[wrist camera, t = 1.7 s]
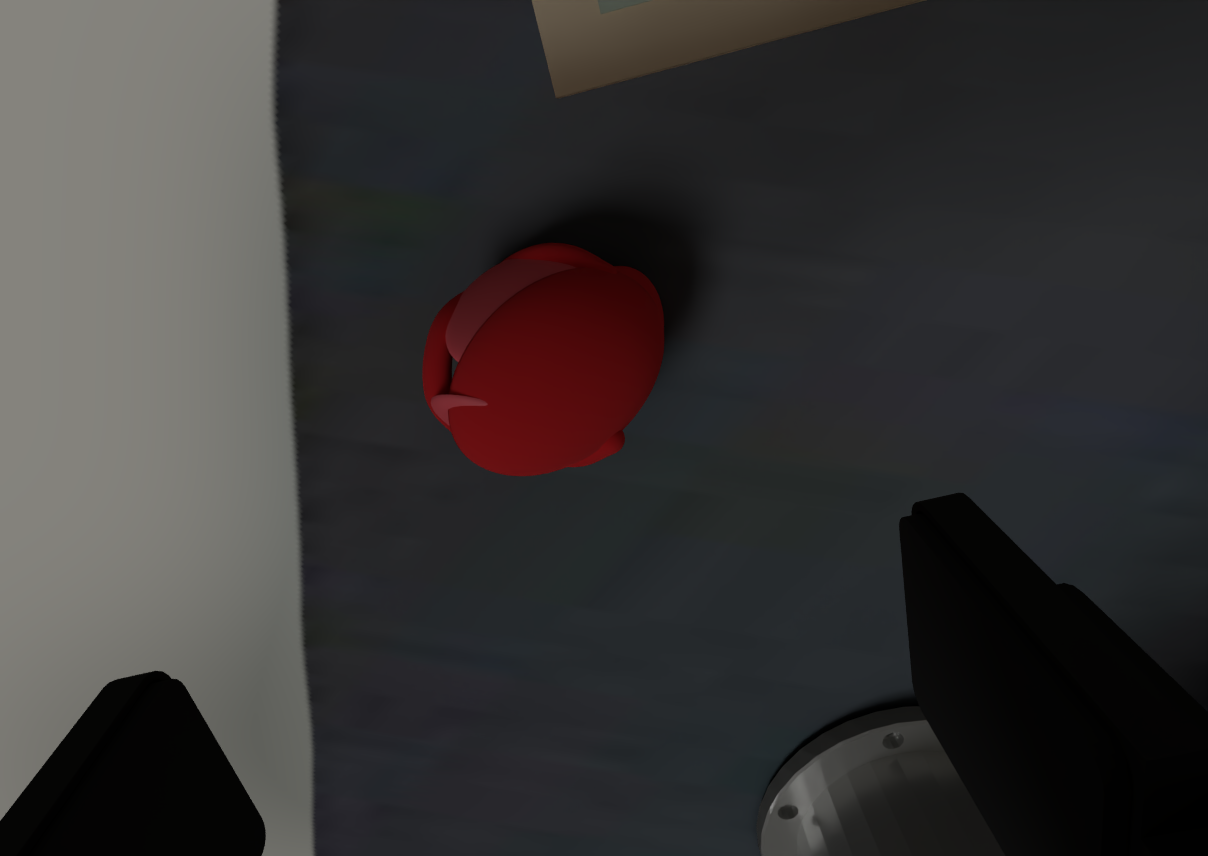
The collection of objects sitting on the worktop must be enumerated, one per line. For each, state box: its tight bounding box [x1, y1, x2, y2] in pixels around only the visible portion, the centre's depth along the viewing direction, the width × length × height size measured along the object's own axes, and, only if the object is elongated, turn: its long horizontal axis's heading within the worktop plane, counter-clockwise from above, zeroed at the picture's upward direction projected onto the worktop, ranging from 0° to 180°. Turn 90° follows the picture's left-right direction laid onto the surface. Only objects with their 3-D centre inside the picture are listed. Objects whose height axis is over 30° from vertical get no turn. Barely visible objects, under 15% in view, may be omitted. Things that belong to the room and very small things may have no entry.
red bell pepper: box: [423, 243, 664, 476], centre depth 23 cm, size 8×6×6 cm
